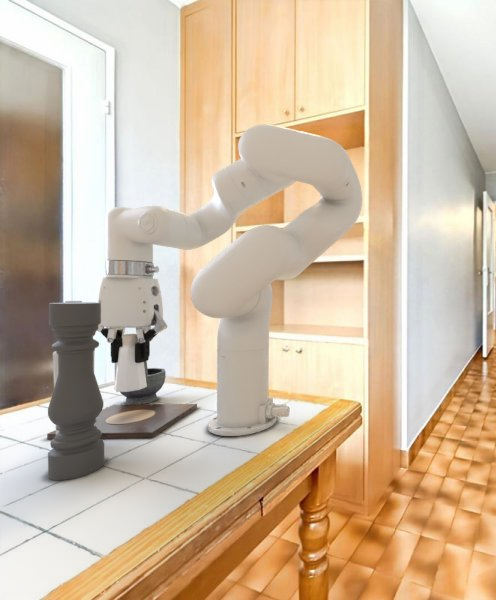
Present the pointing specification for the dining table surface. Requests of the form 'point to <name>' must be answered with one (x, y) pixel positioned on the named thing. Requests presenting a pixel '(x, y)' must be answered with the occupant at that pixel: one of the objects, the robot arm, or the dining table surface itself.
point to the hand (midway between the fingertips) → (130, 360)
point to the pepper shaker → (129, 367)
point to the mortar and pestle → (147, 394)
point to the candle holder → (75, 392)
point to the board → (137, 419)
